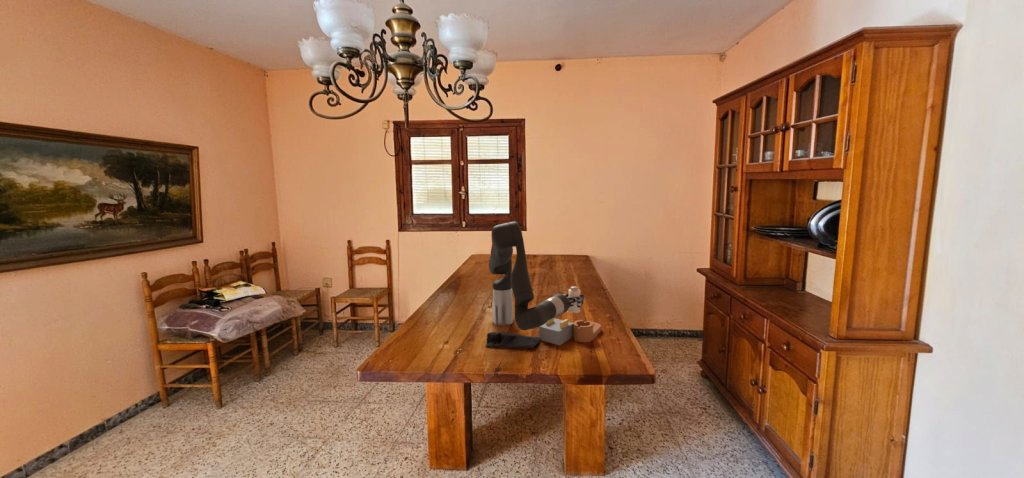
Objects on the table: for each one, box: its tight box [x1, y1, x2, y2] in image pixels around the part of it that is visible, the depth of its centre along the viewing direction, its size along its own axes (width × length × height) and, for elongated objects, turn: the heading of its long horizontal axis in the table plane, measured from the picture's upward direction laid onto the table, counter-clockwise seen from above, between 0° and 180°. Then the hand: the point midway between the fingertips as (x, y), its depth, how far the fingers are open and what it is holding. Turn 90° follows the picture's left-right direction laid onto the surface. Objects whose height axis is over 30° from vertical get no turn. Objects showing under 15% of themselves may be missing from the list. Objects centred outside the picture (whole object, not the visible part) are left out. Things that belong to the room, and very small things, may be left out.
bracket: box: [572, 319, 602, 343], centre depth 174 cm, size 18×8×7 cm, turn 148°
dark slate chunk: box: [485, 331, 541, 350], centre depth 167 cm, size 15×22×5 cm
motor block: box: [538, 317, 574, 346], centre depth 172 cm, size 15×10×8 cm, turn 140°
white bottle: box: [568, 285, 581, 314], centre depth 164 cm, size 5×5×10 cm
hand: (577, 295), depth 166 cm, fingers closed on white bottle, 4 cm apart
